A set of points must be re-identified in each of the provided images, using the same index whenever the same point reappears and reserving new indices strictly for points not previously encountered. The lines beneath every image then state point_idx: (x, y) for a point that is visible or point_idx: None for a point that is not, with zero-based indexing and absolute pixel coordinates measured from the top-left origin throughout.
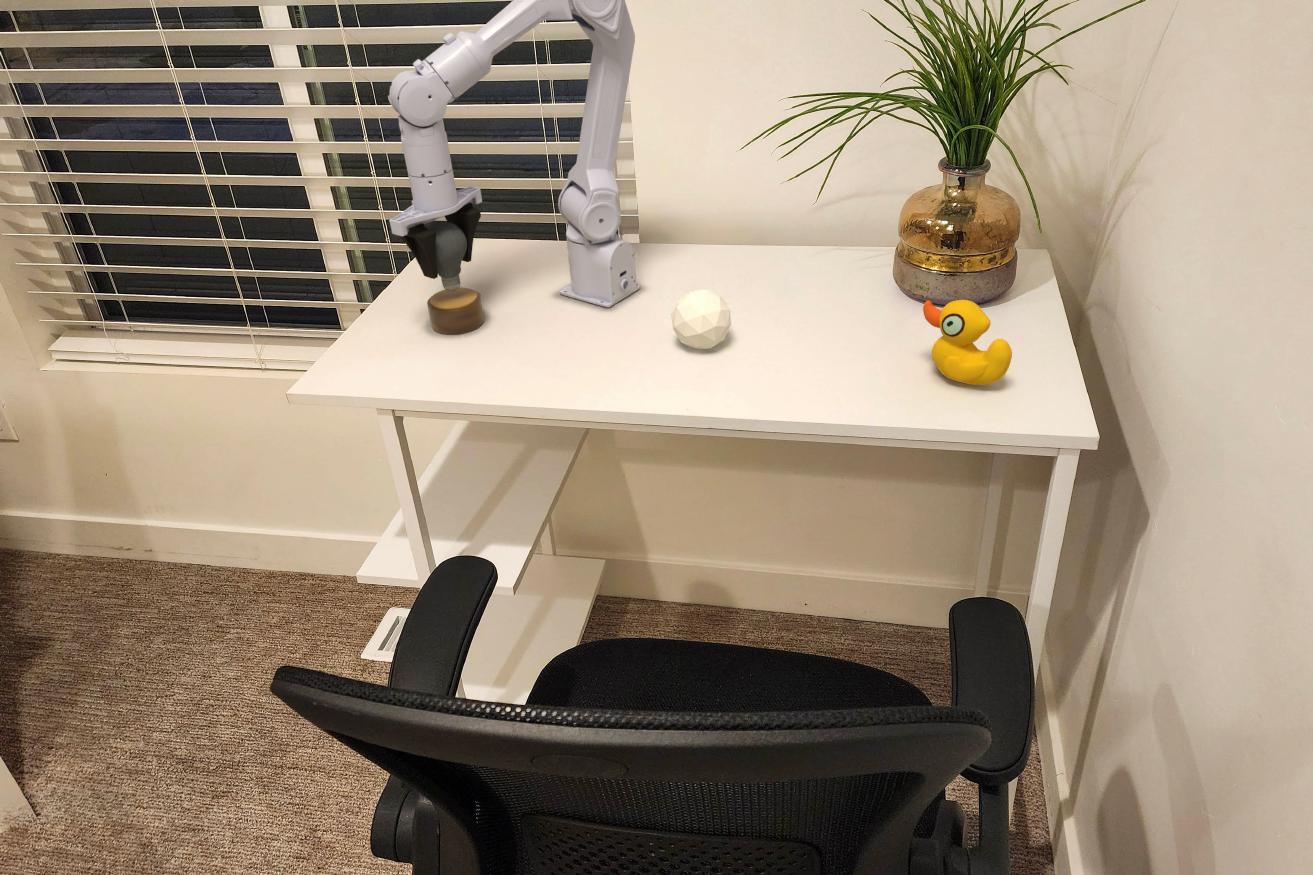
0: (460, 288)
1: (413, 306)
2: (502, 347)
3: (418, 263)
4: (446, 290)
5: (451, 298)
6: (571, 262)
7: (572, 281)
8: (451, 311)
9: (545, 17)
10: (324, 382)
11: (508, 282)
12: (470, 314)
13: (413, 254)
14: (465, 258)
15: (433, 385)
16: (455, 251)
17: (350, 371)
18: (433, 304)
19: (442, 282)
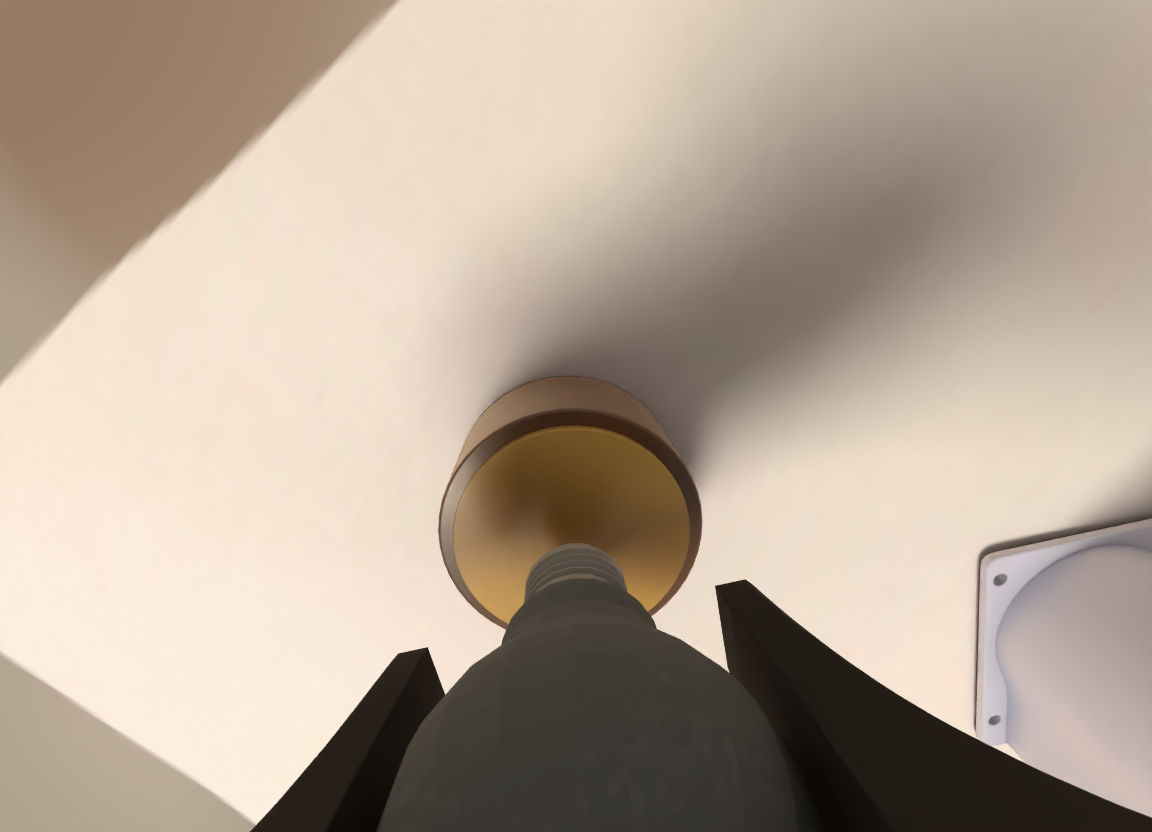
0: (656, 479)
1: (507, 171)
2: None
3: (344, 724)
4: (592, 446)
5: (558, 543)
6: (1136, 722)
7: (1050, 637)
8: (497, 623)
9: None
10: None
11: (967, 292)
12: None
13: (278, 804)
14: (734, 667)
15: (283, 773)
16: None
17: (53, 532)
18: (456, 540)
19: (534, 576)
